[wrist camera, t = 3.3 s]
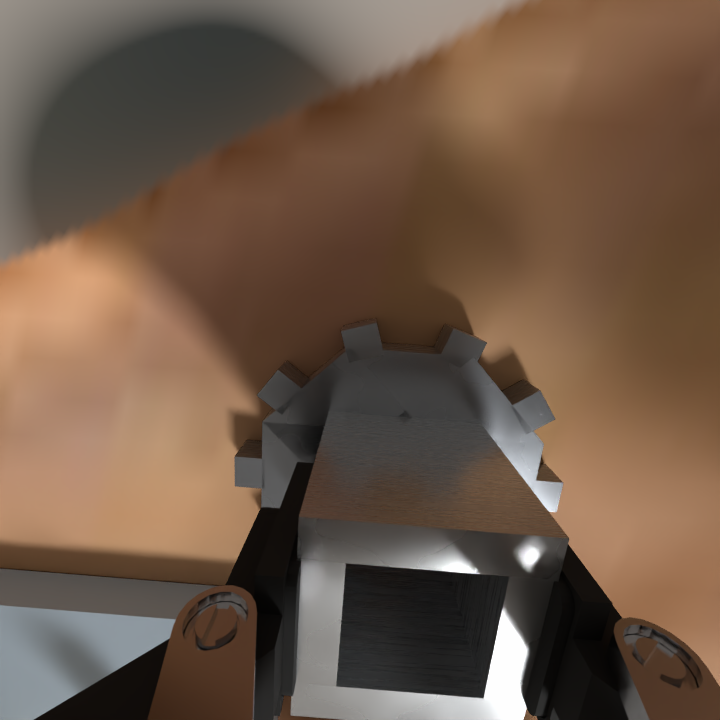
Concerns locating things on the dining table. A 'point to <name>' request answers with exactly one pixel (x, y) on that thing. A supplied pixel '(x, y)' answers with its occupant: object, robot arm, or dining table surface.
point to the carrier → (76, 632)
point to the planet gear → (412, 528)
